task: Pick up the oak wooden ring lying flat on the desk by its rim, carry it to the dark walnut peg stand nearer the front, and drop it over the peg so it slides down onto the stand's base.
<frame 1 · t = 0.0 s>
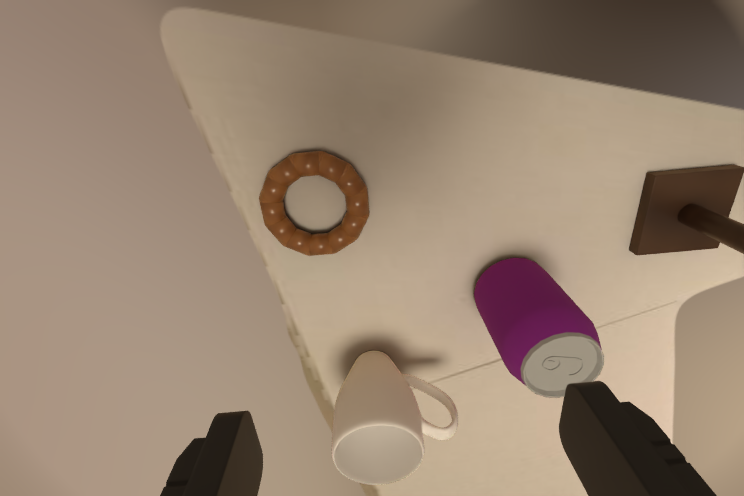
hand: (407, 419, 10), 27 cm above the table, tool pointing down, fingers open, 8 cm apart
beverage can: (507, 285, 40), on the table
ring: (315, 205, 35), point 1 cm above the table
mug: (389, 362, 44), on the table
peg stand: (678, 209, 37), on the table
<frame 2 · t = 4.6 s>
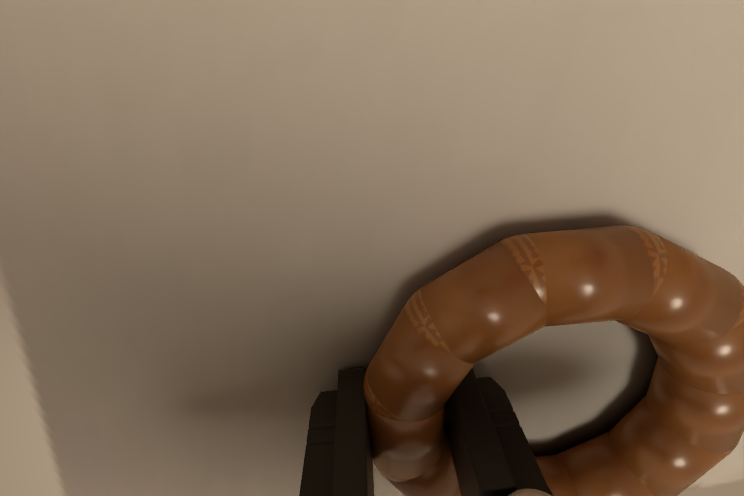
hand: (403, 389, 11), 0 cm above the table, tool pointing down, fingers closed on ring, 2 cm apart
ring: (552, 403, 10), point 1 cm above the table, touching gripper
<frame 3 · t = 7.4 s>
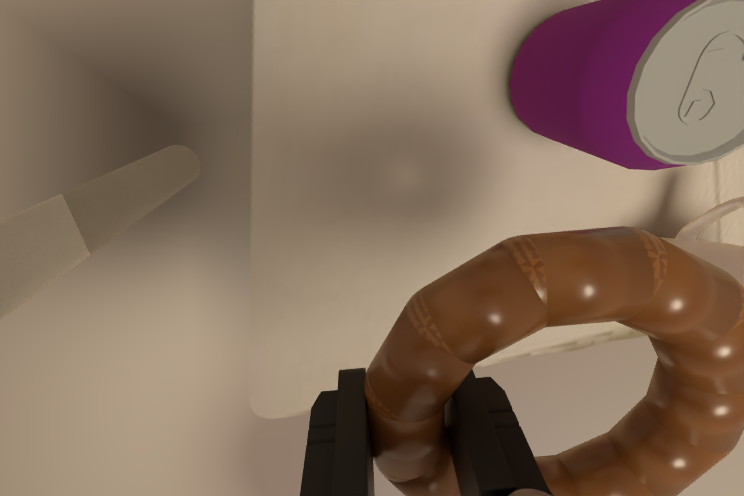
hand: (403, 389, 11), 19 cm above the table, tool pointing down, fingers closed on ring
beverage can: (561, 76, 26), on the table
ring: (552, 404, 10), point 20 cm above the table, touching gripper
mug: (654, 239, 31), on the table
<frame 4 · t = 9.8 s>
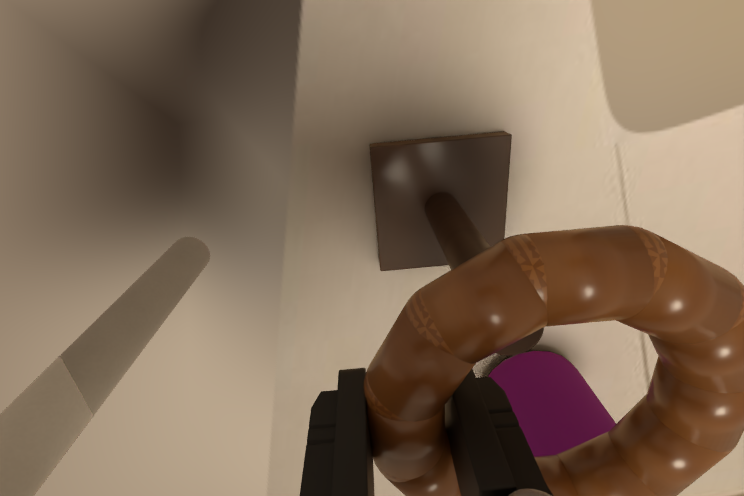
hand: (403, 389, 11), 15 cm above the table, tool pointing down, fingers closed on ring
beverage can: (524, 379, 32), on the table
ring: (552, 403, 10), point 16 cm above the table, touching gripper
peg stand: (437, 201, 24), on the table
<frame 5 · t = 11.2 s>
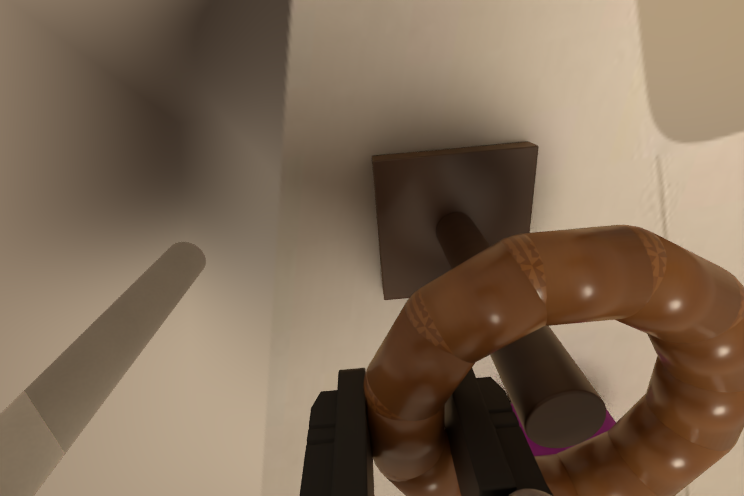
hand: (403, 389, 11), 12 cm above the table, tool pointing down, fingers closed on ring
beverage can: (543, 413, 28), on the table
ring: (551, 402, 10), point 13 cm above the table, touching gripper
peg stand: (449, 221, 21), on the table
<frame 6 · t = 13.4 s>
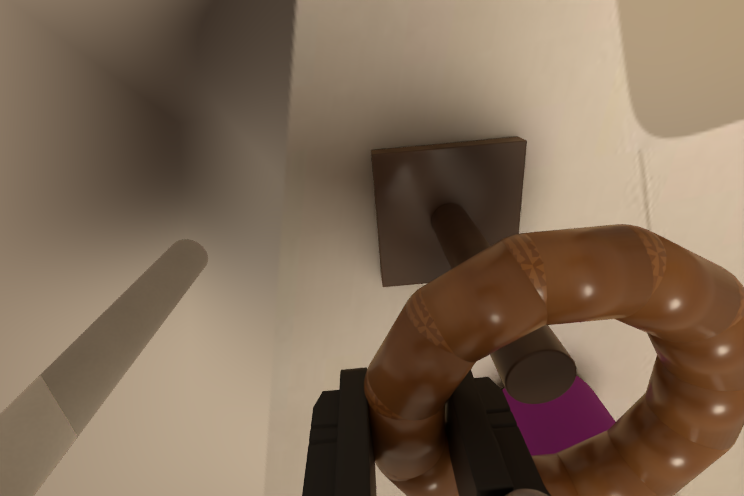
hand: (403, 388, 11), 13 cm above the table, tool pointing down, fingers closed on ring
beverage can: (535, 398, 30), on the table
ring: (552, 402, 10), point 14 cm above the table, touching gripper
peg stand: (444, 212, 23), on the table
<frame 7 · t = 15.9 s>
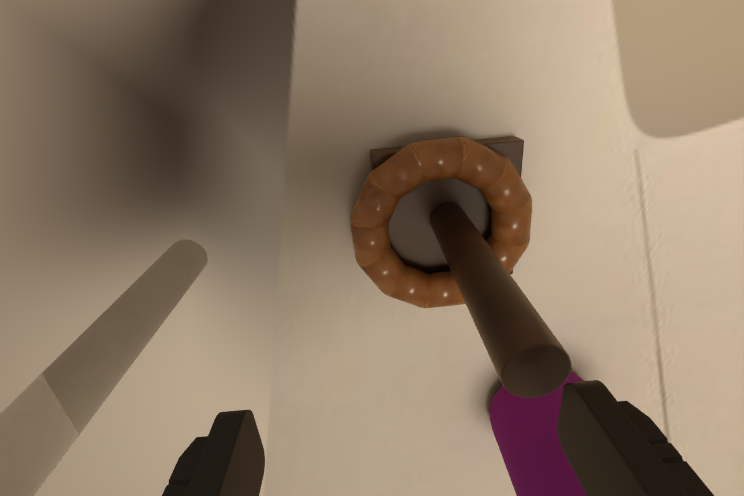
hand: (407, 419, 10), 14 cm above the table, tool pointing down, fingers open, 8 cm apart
beverage can: (533, 396, 30), on the table
ring: (440, 229, 21), point 2 cm above the table, touching peg stand
peg stand: (443, 211, 23), on the table
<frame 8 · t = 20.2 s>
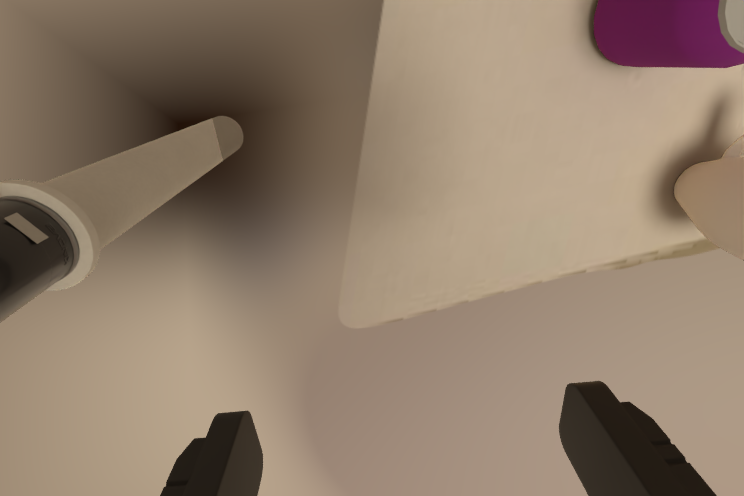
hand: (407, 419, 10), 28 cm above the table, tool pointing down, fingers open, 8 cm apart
beverage can: (634, 14, 31), on the table
mug: (700, 164, 37), on the table
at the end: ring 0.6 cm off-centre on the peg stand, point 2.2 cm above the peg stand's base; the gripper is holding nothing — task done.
